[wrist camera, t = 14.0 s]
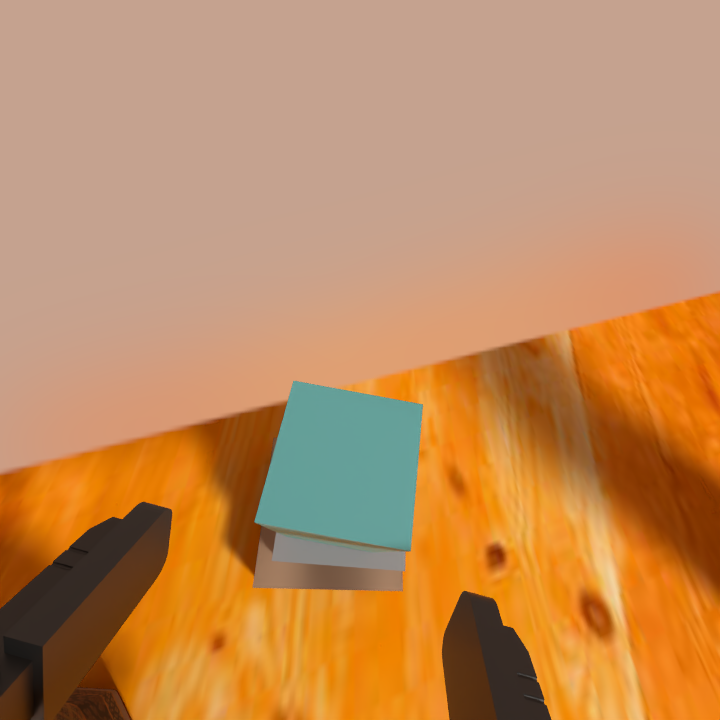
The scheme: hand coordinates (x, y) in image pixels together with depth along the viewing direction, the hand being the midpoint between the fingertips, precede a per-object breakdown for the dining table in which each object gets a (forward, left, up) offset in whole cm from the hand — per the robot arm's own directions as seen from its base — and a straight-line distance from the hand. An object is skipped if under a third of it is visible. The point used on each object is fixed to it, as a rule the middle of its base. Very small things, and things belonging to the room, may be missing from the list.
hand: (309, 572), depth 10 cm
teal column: (-1, -3, -10) cm, 11 cm away
